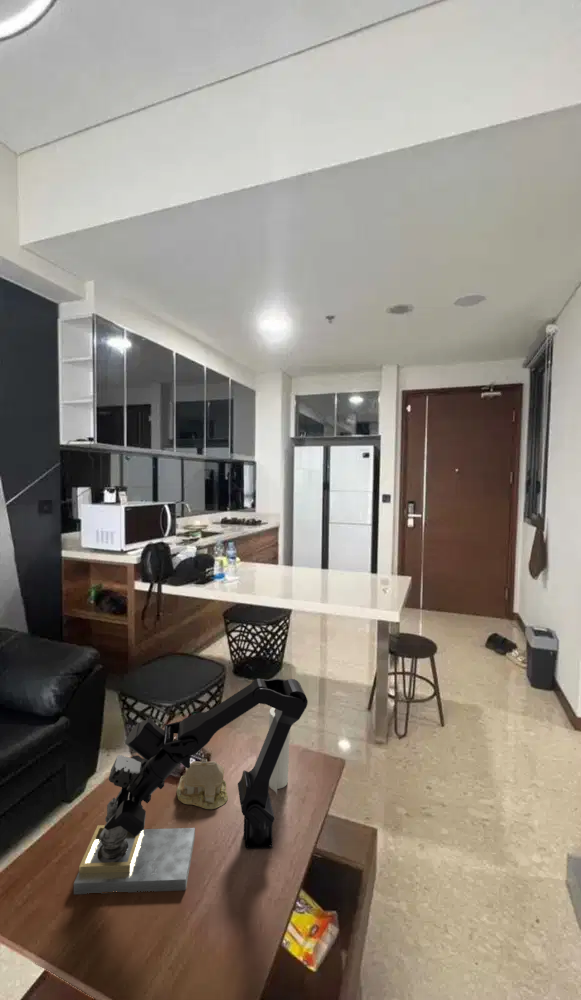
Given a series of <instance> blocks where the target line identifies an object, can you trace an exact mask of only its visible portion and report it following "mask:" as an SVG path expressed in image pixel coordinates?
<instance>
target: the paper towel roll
mask: <svg viewBox="0 0 581 1000" xmlns="http://www.w3.org/2000/svg"><path fill="white" fill-rule="evenodd" d="M275 711H276V709H275V708H273V707H270V709H269V712H268V713H269V716H268V730H269V729H270V726H271V724H272V721H273V719H274V716H275ZM290 734H291V731H289V733H288V736H287V738H286V741H285V743H284V746H283V748H282V751H281V753H280V756H279V758H278V760H277V763H276V765H275V768H274V770H273V773H272V775H271V778H270V781H269V788H270V789H271V790H272V791H273V792H275V794H276V795H278V789H279V790H280V789H283V788H285V787H286V786H287V784H288V781H289V763H290V761H289V760H290V759H289V758H290V755H289V754H290Z"/></svg>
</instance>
